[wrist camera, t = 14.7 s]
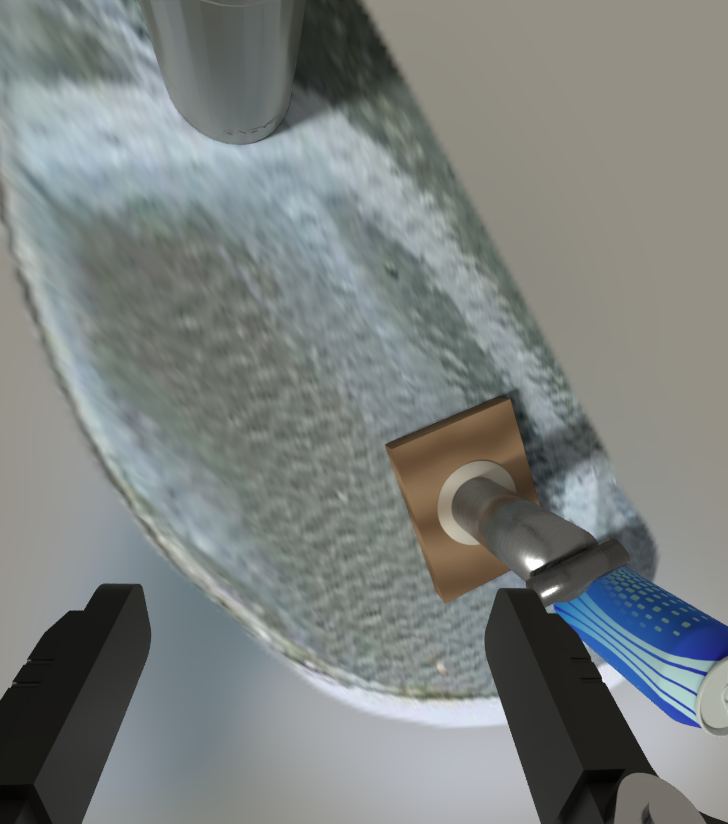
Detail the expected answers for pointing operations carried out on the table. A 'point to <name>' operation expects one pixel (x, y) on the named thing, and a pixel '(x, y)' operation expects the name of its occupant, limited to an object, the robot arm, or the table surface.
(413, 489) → the block
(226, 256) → the table surface
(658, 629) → the beer can
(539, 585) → the grey cylinder
